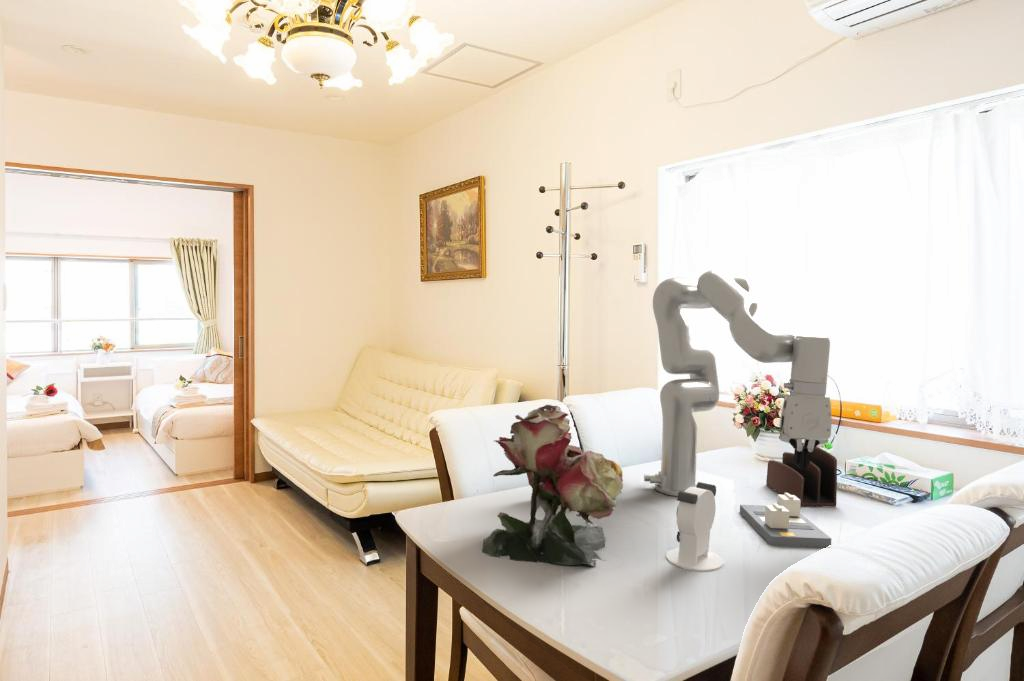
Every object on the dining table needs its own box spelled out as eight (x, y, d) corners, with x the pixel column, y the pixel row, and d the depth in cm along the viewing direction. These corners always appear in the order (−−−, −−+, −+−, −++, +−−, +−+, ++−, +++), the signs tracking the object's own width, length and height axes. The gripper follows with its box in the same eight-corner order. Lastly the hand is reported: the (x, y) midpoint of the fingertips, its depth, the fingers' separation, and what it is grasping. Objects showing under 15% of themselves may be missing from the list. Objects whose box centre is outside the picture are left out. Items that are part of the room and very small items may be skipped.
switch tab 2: (782, 515, 154) (783, 497, 154) (776, 510, 158) (777, 492, 158) (799, 516, 154) (800, 497, 154) (793, 510, 158) (794, 492, 158)
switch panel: (771, 545, 141) (771, 535, 141) (739, 512, 163) (740, 504, 163) (830, 547, 141) (831, 538, 140) (791, 514, 163) (791, 506, 162)
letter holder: (798, 485, 189) (800, 438, 188) (836, 507, 170) (839, 455, 169) (765, 485, 189) (767, 438, 188) (800, 507, 169) (803, 454, 168)
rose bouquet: (619, 572, 125) (624, 421, 123) (475, 557, 131) (478, 412, 129) (622, 527, 150) (626, 401, 148) (500, 516, 156) (503, 394, 154)
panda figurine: (681, 544, 141) (684, 477, 140) (732, 558, 133) (735, 487, 132) (656, 560, 131) (659, 488, 130) (709, 576, 124) (713, 500, 123)
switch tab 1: (770, 528, 145) (771, 508, 145) (764, 521, 149) (765, 502, 149) (788, 528, 145) (789, 508, 145) (782, 522, 149) (782, 503, 149)
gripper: (780, 389, 142) (774, 470, 143) (849, 392, 141) (841, 473, 143) (768, 384, 149) (762, 461, 151) (833, 387, 149) (826, 464, 150)
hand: (801, 467), depth 147 cm, fingers closed
